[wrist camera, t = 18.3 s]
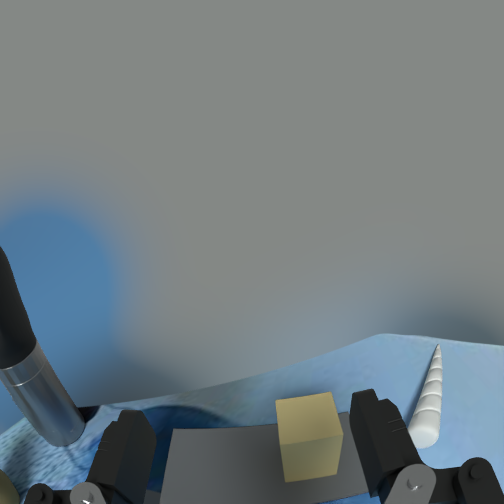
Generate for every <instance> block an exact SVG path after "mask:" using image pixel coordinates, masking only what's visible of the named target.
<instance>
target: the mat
mask: <svg viewBox="0 0 504 504" xmlns="http://www.w3.org/2000/svg"><path fill="white" fill-rule="evenodd" d="M338 417H339V421H340V424H341V428H342V431H343V440H342V446H341V452H340V458H339V464H338V469H337V474H335V475H330V476H325V477H319V478H313V479H307V480H300V481H293V482H285V477H284V470H283V463H282V456H281V449H280V441H279V431H278V424H269V425H260V426H248V427H234V428H214V429H174V430H173V434H172V439H171V444H170V449H169V455H168V460H167V465H166V470H165V476H164V481H163V486H162V492H161V498H160V503H159V504H317V503H322V502H328V501H333V500H338V499H342V498H347V497H351V496H355V495H359V494H363V493H367V492H369V491H368V487H367V483H366V480H365V476H364V473H363V469H362V466H361V463H360V459H359V456H358V452H357V449H356V446H355V442H354V439H353V436H352V432H351V429H350V423H349V413H348V412H345V413H340V414H338Z"/></svg>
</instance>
